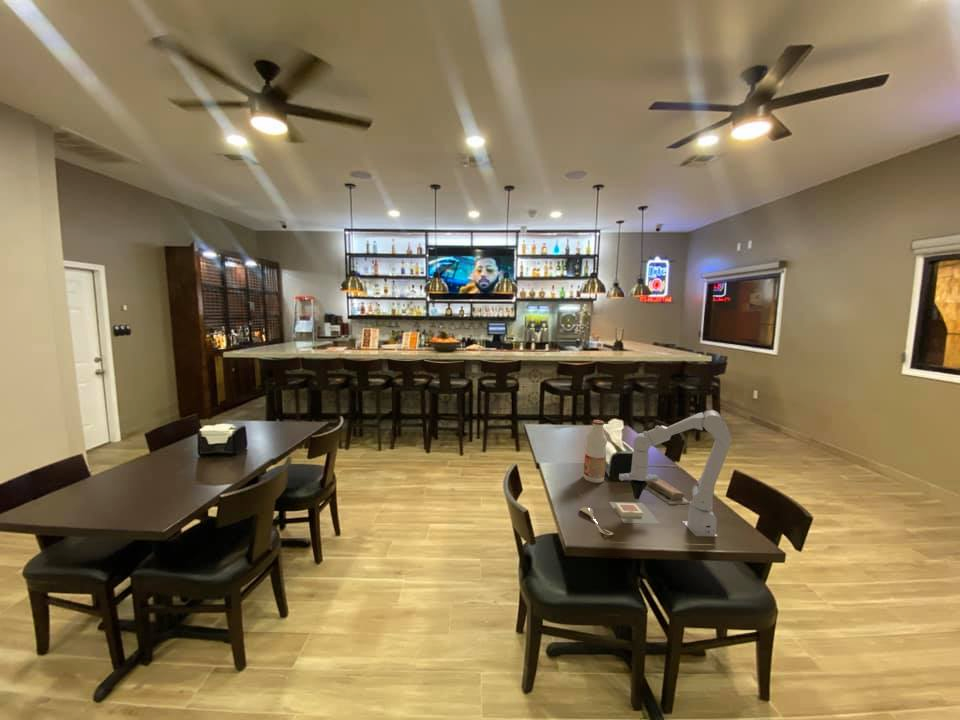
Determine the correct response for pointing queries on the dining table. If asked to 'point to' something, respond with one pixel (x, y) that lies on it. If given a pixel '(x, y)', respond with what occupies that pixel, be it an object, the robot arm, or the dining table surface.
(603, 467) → the fruit juice
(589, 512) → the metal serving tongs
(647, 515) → the mat
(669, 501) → the packaged product
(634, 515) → the deck
